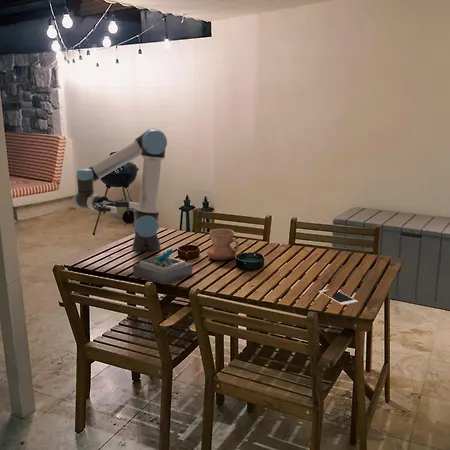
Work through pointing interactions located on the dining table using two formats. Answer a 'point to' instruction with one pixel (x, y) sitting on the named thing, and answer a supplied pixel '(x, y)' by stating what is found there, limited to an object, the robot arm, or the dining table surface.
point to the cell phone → (340, 298)
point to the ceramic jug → (222, 244)
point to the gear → (163, 258)
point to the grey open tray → (162, 270)
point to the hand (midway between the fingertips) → (127, 208)
